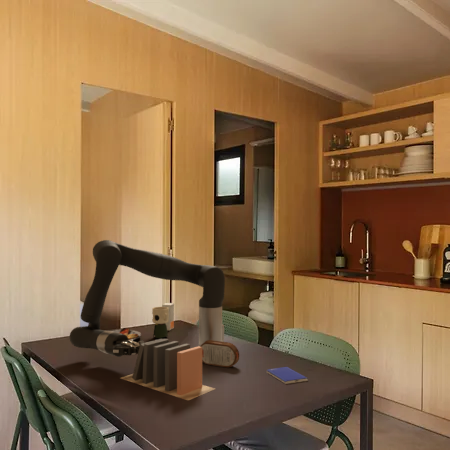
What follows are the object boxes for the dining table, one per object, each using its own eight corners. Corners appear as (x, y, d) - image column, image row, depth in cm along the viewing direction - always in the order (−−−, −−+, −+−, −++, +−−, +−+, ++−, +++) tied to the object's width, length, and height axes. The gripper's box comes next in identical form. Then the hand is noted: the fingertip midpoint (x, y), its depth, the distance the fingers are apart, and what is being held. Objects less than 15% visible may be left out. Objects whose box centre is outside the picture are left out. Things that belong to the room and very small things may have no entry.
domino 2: (142, 382, 145) (143, 344, 144) (163, 375, 152) (165, 338, 151) (145, 384, 144) (147, 345, 143) (167, 376, 151) (168, 339, 150)
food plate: (137, 331, 218) (137, 324, 217) (145, 344, 195) (145, 335, 195) (81, 337, 210) (81, 329, 210) (82, 351, 188) (82, 342, 188)
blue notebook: (266, 369, 158) (285, 380, 147) (287, 366, 161) (307, 377, 150) (266, 374, 158) (285, 385, 147) (287, 371, 161) (307, 382, 150)
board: (119, 380, 149) (119, 378, 149) (148, 371, 159) (148, 369, 159) (188, 403, 130) (188, 400, 130) (216, 391, 140) (216, 388, 140)
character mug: (147, 336, 209) (147, 307, 209) (161, 334, 213) (161, 305, 213) (159, 341, 200) (159, 310, 200) (174, 338, 205) (174, 308, 205)
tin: (239, 367, 164) (239, 343, 164) (236, 369, 161) (236, 345, 161) (201, 361, 170) (201, 338, 170) (197, 364, 168) (197, 340, 168)
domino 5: (177, 394, 135) (177, 352, 135) (198, 385, 142) (198, 346, 142) (181, 395, 134) (181, 353, 134) (202, 387, 141) (202, 347, 141)
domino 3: (153, 386, 142) (153, 346, 142) (174, 379, 149) (174, 340, 149) (157, 387, 141) (157, 347, 141) (178, 380, 148) (178, 341, 148)
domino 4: (164, 390, 138) (165, 349, 138) (186, 382, 145) (186, 343, 145) (168, 391, 137) (168, 350, 137) (190, 383, 144) (190, 344, 144)
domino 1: (132, 377, 148) (140, 343, 145) (153, 371, 155) (161, 338, 152) (135, 380, 147) (143, 346, 144) (156, 373, 154) (165, 340, 151)
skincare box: (170, 330, 220) (170, 305, 220) (161, 330, 221) (161, 304, 221) (174, 327, 226) (174, 303, 226) (165, 327, 227) (165, 302, 227)
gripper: (128, 350, 166) (161, 359, 155) (96, 358, 156) (129, 368, 145) (128, 329, 166) (161, 336, 155) (96, 335, 156) (130, 344, 145)
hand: (146, 351), depth 150 cm, fingers closed
